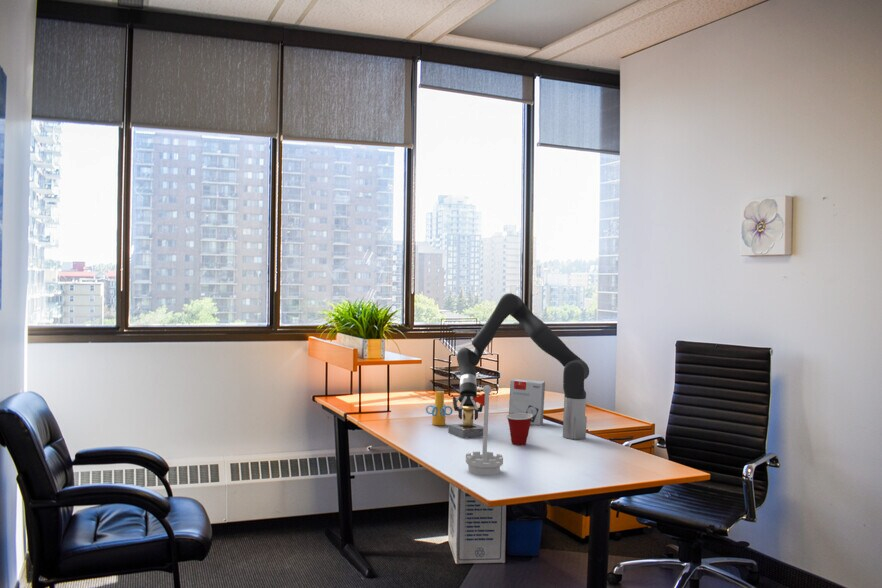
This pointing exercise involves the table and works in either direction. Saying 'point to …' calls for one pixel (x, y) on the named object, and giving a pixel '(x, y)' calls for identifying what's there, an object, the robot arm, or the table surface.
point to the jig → (466, 430)
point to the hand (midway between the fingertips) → (468, 418)
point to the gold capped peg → (468, 416)
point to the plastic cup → (519, 427)
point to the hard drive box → (527, 398)
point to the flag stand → (484, 445)
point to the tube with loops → (439, 409)
